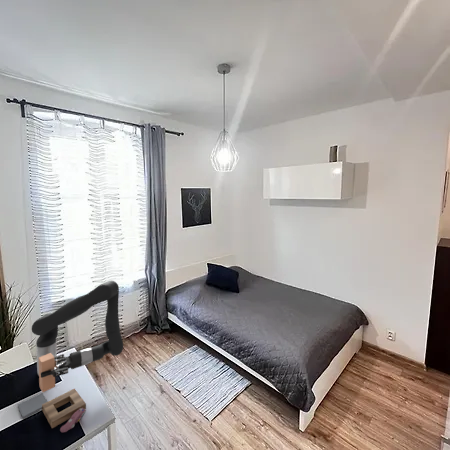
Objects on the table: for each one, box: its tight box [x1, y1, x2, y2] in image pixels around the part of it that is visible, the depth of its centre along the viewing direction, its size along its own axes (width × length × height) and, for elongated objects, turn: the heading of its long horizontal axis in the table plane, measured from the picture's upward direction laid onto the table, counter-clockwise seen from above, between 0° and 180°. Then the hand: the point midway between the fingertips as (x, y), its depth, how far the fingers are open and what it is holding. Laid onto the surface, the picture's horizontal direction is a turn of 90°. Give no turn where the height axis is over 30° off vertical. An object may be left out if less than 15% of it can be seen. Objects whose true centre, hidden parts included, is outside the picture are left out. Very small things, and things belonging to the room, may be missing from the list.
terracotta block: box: [38, 353, 56, 393], centre depth 119 cm, size 5×5×15 cm
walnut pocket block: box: [41, 388, 87, 429], centre depth 120 cm, size 14×14×3 cm
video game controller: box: [59, 408, 87, 433], centre depth 113 cm, size 10×5×7 cm, turn 169°
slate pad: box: [17, 392, 49, 419], centre depth 122 cm, size 10×10×1 cm
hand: (40, 371), depth 117 cm, fingers closed on terracotta block, 5 cm apart
